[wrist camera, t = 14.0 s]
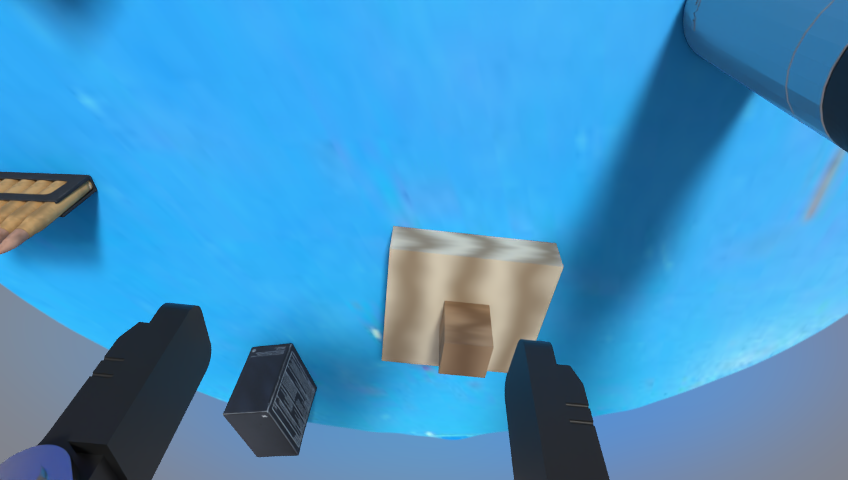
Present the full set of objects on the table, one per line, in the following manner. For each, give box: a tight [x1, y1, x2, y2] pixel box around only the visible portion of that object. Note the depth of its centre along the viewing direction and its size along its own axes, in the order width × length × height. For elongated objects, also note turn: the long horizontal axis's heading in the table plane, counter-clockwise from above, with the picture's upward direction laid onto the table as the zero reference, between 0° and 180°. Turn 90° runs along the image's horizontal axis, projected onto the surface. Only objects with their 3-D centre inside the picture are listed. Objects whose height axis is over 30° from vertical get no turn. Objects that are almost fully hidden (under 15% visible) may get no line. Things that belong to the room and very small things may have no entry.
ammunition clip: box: [0, 172, 97, 254], centre depth 44 cm, size 11×2×12 cm, turn 89°
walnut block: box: [439, 301, 494, 378], centre depth 50 cm, size 5×5×6 cm
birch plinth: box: [382, 226, 563, 373], centre depth 54 cm, size 18×18×4 cm
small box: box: [223, 343, 317, 457], centre depth 62 cm, size 11×6×10 cm, turn 11°
